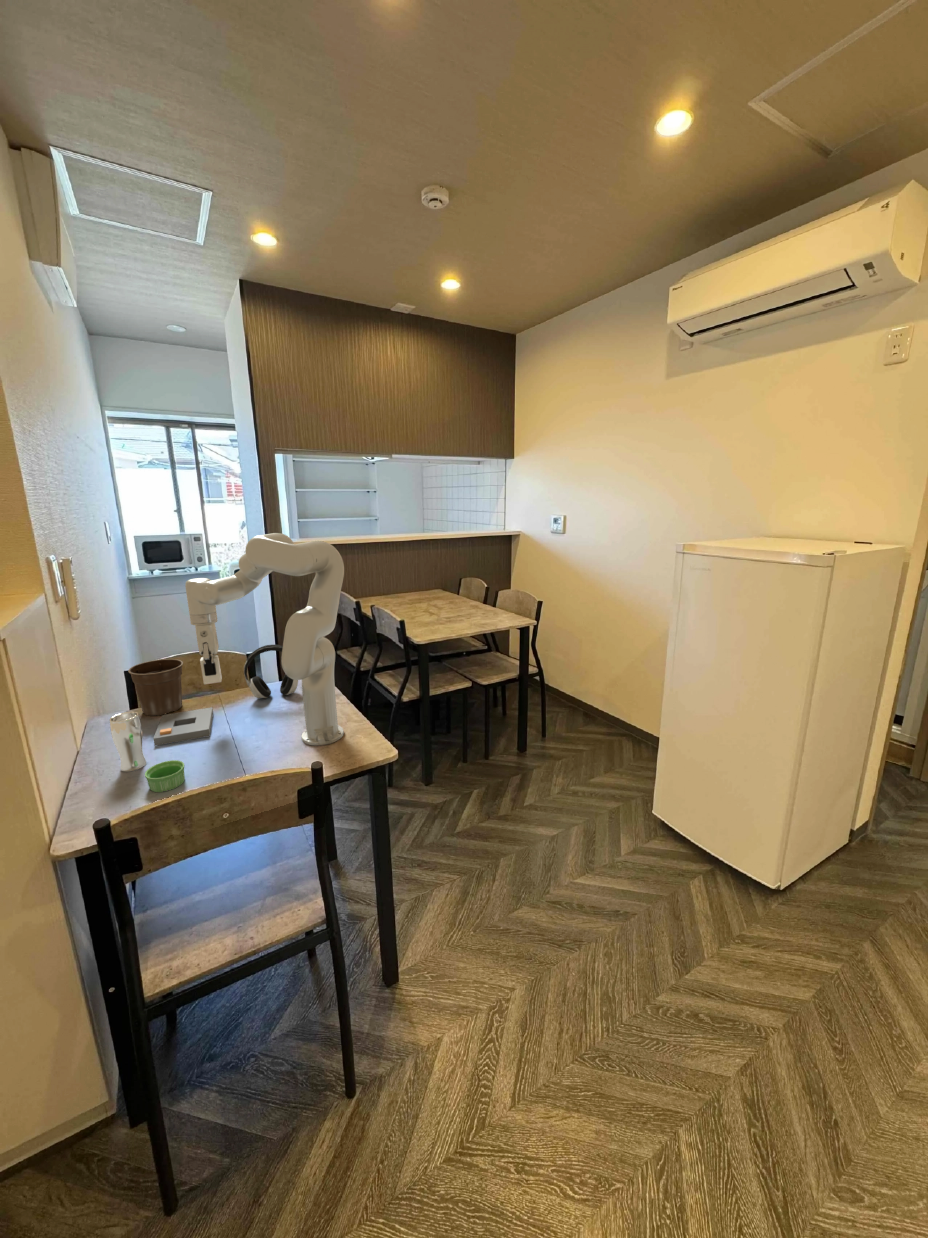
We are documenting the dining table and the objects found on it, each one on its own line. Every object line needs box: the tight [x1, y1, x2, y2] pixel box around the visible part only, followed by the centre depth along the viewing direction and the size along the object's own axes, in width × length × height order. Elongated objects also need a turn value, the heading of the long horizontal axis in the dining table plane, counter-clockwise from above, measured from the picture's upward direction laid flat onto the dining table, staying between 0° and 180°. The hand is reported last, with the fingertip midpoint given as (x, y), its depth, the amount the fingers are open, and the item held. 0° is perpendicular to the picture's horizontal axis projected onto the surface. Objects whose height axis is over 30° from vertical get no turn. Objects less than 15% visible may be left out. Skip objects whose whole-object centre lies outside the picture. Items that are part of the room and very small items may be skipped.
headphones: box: [243, 644, 299, 699], centre depth 184 cm, size 19×8×20 cm, turn 112°
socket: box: [153, 706, 214, 746], centre depth 161 cm, size 18×15×3 cm
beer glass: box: [109, 711, 147, 773], centre depth 138 cm, size 7×7×15 cm
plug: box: [199, 652, 223, 685], centre depth 161 cm, size 4×5×10 cm
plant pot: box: [127, 658, 184, 717], centre depth 175 cm, size 16×16×16 cm
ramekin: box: [144, 759, 186, 793], centre depth 130 cm, size 9×9×4 cm
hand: (211, 672), depth 161 cm, fingers closed on plug, 3 cm apart
